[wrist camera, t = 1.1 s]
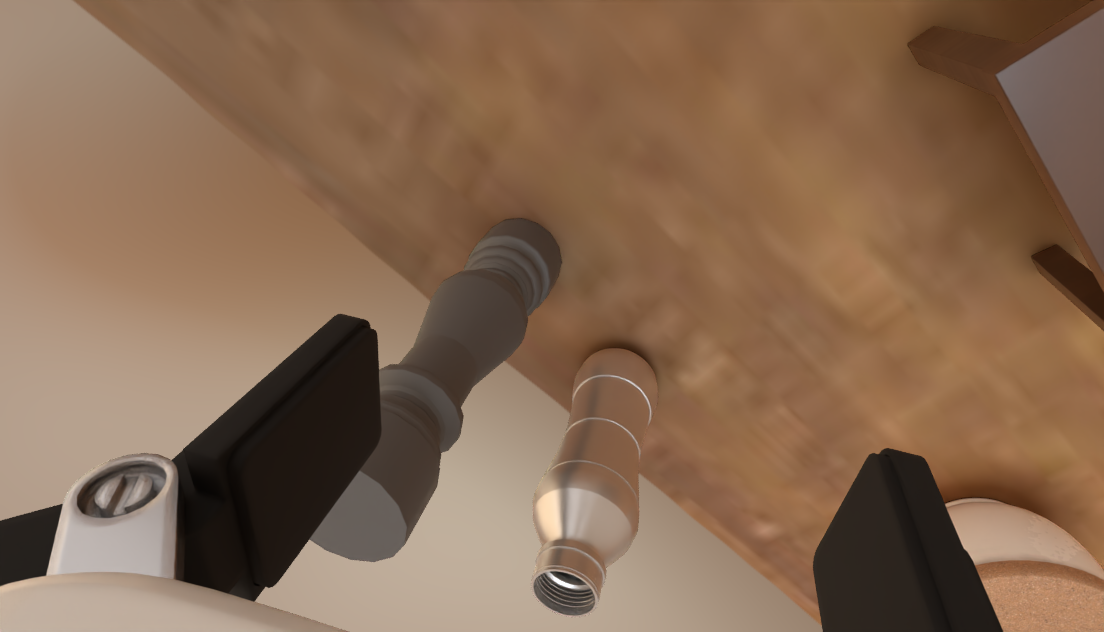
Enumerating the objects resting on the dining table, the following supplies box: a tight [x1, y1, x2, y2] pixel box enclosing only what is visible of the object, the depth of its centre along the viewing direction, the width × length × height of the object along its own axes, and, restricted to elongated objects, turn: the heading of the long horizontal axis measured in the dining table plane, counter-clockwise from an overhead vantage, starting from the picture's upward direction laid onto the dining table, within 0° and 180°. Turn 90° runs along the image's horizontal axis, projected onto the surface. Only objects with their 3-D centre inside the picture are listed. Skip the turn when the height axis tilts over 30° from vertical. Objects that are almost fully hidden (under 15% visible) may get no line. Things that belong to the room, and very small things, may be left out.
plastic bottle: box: [531, 348, 658, 617], centre depth 38 cm, size 6×7×20 cm
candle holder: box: [310, 218, 562, 562], centre depth 33 cm, size 6×6×25 cm
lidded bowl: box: [945, 498, 1104, 632], centre depth 41 cm, size 13×13×11 cm
